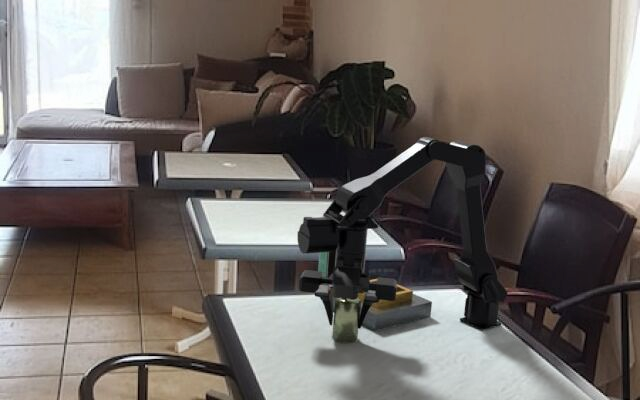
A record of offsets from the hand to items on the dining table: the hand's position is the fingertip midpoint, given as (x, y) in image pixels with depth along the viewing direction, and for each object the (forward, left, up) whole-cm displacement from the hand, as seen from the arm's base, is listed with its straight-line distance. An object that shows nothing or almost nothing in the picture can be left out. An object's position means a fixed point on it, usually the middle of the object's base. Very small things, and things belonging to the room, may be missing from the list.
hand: (345, 326), depth 160 cm
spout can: (0, 0, -2) cm, 3 cm away
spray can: (+24, -15, -3) cm, 28 cm away
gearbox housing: (+8, -16, -2) cm, 18 cm away
